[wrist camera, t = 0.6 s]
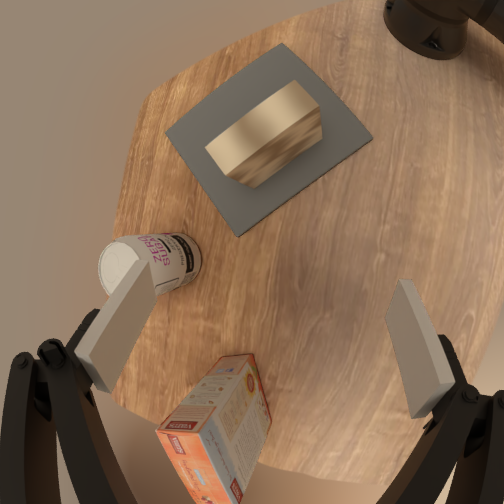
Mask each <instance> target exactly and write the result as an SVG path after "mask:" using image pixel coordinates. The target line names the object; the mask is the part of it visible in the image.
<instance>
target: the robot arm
mask: <svg viewBox="0 0 504 504" xmlns="http://www.w3.org/2000/svg"><path fill="white" fill-rule="evenodd" d="M469 18H471V19H472V20H474V21H475V22H476V23H478V24H479V25H480V26H482V27H483V28H485V29H486V30H487V31H488V32H490V33H491V34H492V35H493V36H495V37H496V38H497V39H498V40H499V41H501V42H502V43H503V44H504V0H387V1H386V3H385V8H384V20H385V23H386V25H387V27H388V29H389V30H390V32H391V33H392V34H393V35H394V36H395V38H397V39H398V40H399V41H400V42H401V43H402V44H404V45H405V46H406V47H408V48H409V49H411V50H413V51H414V52H416V53H418V54H421V55H423V56H426V57H429V58H433V59H439V60H448V59H452V58H454V57H456V56H458V55H459V54H460V52H461V51H462V50H463V48H464V46H465V44H466V40H467V23H468V19H469ZM156 302H157V297H156V293H155V288H154V284H153V279H152V274H151V269H150V265H149V261H143V260H136V261H135V262H134V264H133V265H132V266H131V268H130V269H129V270H128V272H127V273H126V275H125V276H124V277H123V279H122V280H121V281H120V283H119V284H118V286H117V287H116V288H115V290H114V291H113V293H112V294H111V296H110V297H109V298H108V300H107V301H106V303H105V304H104V306H103V307H102V309H101V310H100V309H94V310H92V311H91V312H90V313H89V314H87V315H86V317H85V318H84V320H83V321H82V324H80V325H79V327H78V330H76V331H75V333H74V334H73V336H72V337H71V339H70V340H69V342H68V343H67V345H66V347H64V346H63V344H62V342H61V341H60V340H58V339H54V338H53V339H48V340H46V341H44V342H43V343H42V344H41V345H40V346H39V348H38V351H37V355H38V356H39V358H40V359H41V360H35V359H34V358H33V356H32V355H31V354H30V353H29V352H22V353H19V354H18V355H16V357H15V358H14V359H13V362H12V364H11V369H10V374H9V379H8V384H7V390H6V395H5V402H4V409H3V416H2V426H1V436H0V504H61V499H60V490H59V481H58V467H57V445H56V444H57V443H56V430H57V434H58V438H59V442H60V446H61V449H62V453H63V457H64V460H65V463H66V466H67V470H68V473H69V475H70V479H71V482H72V484H73V487H74V490H75V493H76V495H77V498H78V500H79V503H80V504H137V501H136V499H135V498H134V496H133V494H132V492H131V490H130V488H129V486H128V484H127V482H126V479H125V477H124V475H123V473H122V471H121V469H120V466H119V464H118V462H117V460H116V457H115V455H114V452H113V450H112V447H111V445H110V442H109V440H108V437H107V435H106V432H105V429H104V426H103V424H102V421H101V418H100V415H99V412H98V409H97V406H96V403H95V400H94V396H93V393H92V391H91V389H90V387H91V385H92V383H94V385H95V386H96V388H97V389H98V390H101V391H104V392H107V393H110V394H112V391H113V389H114V387H115V385H116V383H117V381H118V378H119V376H120V374H121V372H122V370H123V368H124V366H125V364H126V362H127V360H128V357H129V355H130V353H131V351H132V349H133V347H134V345H135V343H136V341H137V339H138V337H139V335H140V333H141V331H142V329H143V327H144V325H145V323H146V321H147V320H148V318H149V316H150V314H151V312H152V310H153V308H154V306H155V304H156ZM385 320H386V323H387V326H388V330H389V333H390V336H391V340H392V343H393V347H394V350H395V354H396V357H397V361H398V365H399V369H400V373H401V377H402V381H403V385H404V389H405V393H406V397H407V402H408V406H409V411H410V416H411V419H416V418H423V417H426V416H427V415H428V414H429V413H430V412H431V411H432V414H433V418H432V419H431V420H430V421H429V422H428V423H427V424H426V425H425V426H424V427H423V429H425V428H426V429H425V431H424V433H423V435H422V436H421V438H420V440H419V441H418V443H417V445H416V447H415V448H414V450H413V451H412V453H411V455H410V456H409V458H408V459H407V461H406V463H405V464H404V466H403V467H402V469H401V470H400V472H399V473H398V475H397V476H396V477H395V479H394V480H393V482H392V483H391V485H390V486H389V487H388V489H387V490H386V491H385V493H384V494H383V495H382V497H381V498H380V499H379V501H378V502H377V503H376V504H434V503H435V501H436V500H437V498H438V496H439V494H440V493H441V491H442V489H443V487H444V486H445V484H446V482H447V480H448V478H449V476H450V474H451V472H452V470H453V468H454V466H455V464H456V462H457V464H456V468H455V472H454V476H453V480H452V484H451V487H450V490H449V494H448V497H447V500H446V503H445V504H503V501H504V390H499V391H497V392H496V393H495V394H494V395H493V396H487V395H481V394H479V392H478V390H477V389H476V388H475V387H474V386H472V385H470V384H468V383H467V381H466V378H465V376H464V373H463V370H462V368H461V365H460V363H459V360H458V359H457V355H456V353H455V352H454V348H453V346H452V344H451V342H450V341H449V339H448V338H447V337H446V336H445V335H437V333H436V331H435V328H434V326H433V324H432V322H431V319H430V317H429V315H428V313H427V310H426V308H425V306H424V304H423V302H422V300H421V298H420V296H419V294H418V292H417V289H416V287H415V285H414V283H413V281H412V279H399V280H398V283H397V286H396V289H395V292H394V295H393V297H392V300H391V303H390V306H389V308H388V311H387V313H386V316H385Z"/></svg>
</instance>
